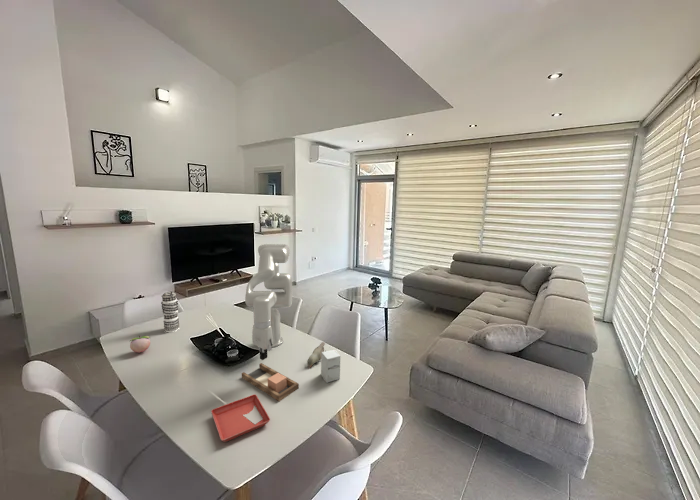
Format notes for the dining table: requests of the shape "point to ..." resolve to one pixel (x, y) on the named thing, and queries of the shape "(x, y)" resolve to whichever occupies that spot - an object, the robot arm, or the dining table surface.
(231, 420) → the red shallow tray
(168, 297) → the model tower building
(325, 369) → the supplement box
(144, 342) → the decorative fruit
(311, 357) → the decorative bird
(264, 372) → the wooden tray
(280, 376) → the terracotta block
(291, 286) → the robot arm
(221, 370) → the dining table surface
